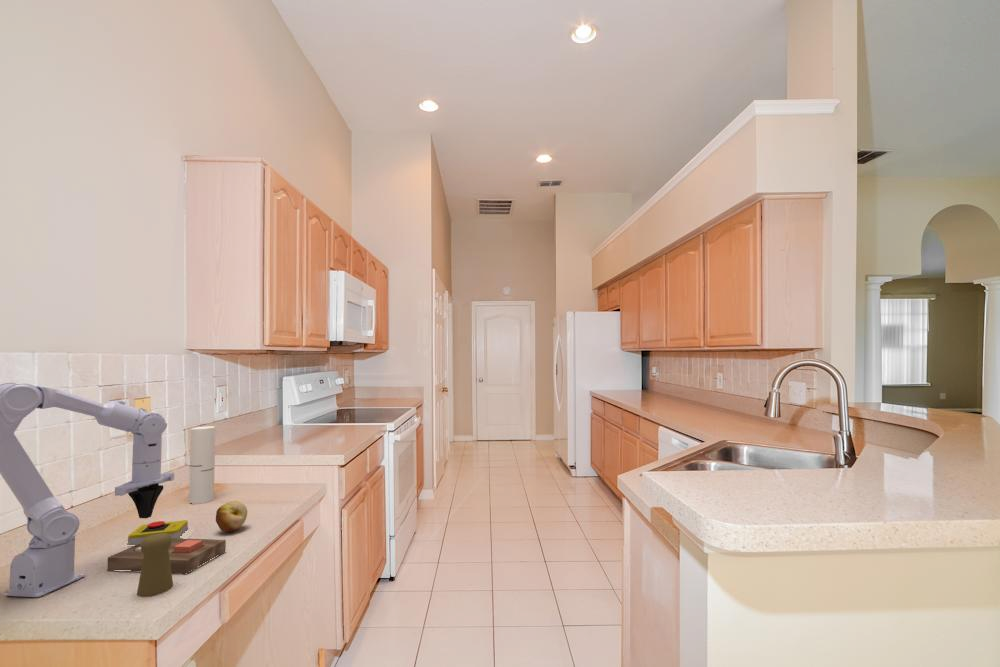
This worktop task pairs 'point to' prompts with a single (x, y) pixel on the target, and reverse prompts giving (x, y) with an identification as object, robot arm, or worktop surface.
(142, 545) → the olive tall tapered piece
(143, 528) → the emergency button
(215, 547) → the walnut plunger housing
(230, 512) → the fruit
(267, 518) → the worktop surface
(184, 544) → the salmon red square block
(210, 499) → the cylindrical container
